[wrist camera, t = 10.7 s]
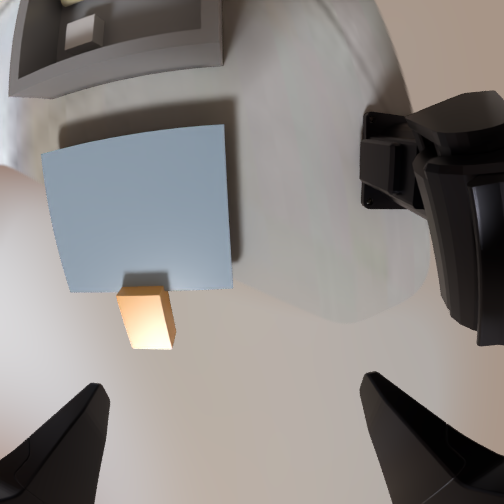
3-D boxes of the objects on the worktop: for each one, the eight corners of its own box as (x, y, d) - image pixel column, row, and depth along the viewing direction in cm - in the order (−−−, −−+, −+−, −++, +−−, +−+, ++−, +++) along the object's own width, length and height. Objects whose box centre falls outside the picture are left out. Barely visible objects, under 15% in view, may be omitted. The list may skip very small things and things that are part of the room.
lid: (224, 125, 16) (223, 123, 14) (236, 321, 22) (237, 347, 19) (55, 151, 16) (30, 156, 13) (94, 322, 21) (81, 345, 19)
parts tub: (221, -51, 11) (219, -91, 6) (223, 66, 15) (219, 42, 10) (63, -13, 10) (30, -35, 6) (52, 99, 14) (8, 96, 10)
